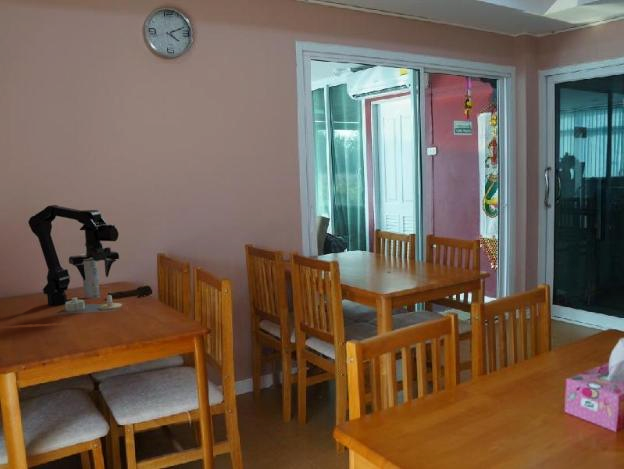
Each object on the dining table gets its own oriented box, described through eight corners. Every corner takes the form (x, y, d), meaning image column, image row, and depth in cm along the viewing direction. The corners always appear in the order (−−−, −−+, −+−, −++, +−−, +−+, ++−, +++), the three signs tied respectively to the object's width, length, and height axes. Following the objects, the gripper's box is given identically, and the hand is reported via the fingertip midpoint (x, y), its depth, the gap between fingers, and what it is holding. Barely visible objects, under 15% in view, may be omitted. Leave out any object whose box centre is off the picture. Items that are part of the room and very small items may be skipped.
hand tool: (109, 302, 244) (108, 292, 244) (108, 300, 248) (107, 290, 247) (153, 296, 253) (153, 285, 253) (151, 294, 257) (150, 284, 256)
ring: (63, 311, 227) (62, 304, 226) (70, 307, 233) (69, 300, 233) (80, 310, 227) (80, 303, 226) (87, 306, 233) (86, 299, 233)
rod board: (58, 316, 223) (57, 301, 222) (72, 307, 237) (71, 293, 236) (116, 313, 223) (114, 298, 223) (126, 304, 237) (125, 290, 237)
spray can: (96, 299, 251) (92, 254, 248) (82, 300, 251) (77, 255, 248) (102, 296, 257) (98, 252, 255) (87, 296, 257) (83, 253, 255)
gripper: (76, 245, 220) (79, 284, 222) (123, 240, 232) (125, 277, 234) (67, 242, 228) (69, 280, 230) (112, 238, 240) (115, 274, 242)
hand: (95, 278), depth 234 cm, fingers open, 9 cm apart
